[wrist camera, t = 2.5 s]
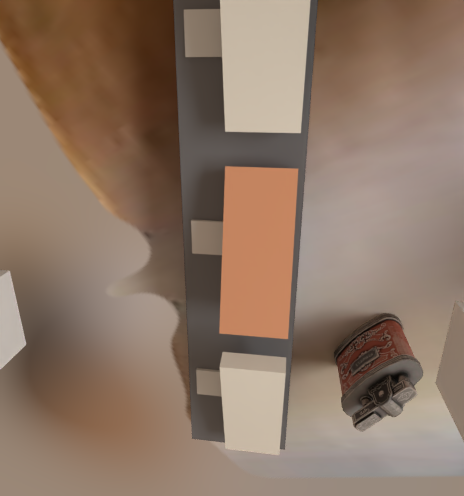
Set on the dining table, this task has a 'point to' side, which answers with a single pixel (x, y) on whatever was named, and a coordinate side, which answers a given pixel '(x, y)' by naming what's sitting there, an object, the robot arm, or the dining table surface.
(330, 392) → the dining table surface
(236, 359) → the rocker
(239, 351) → the rocker switch base
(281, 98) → the block
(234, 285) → the rocker middle
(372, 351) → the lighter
